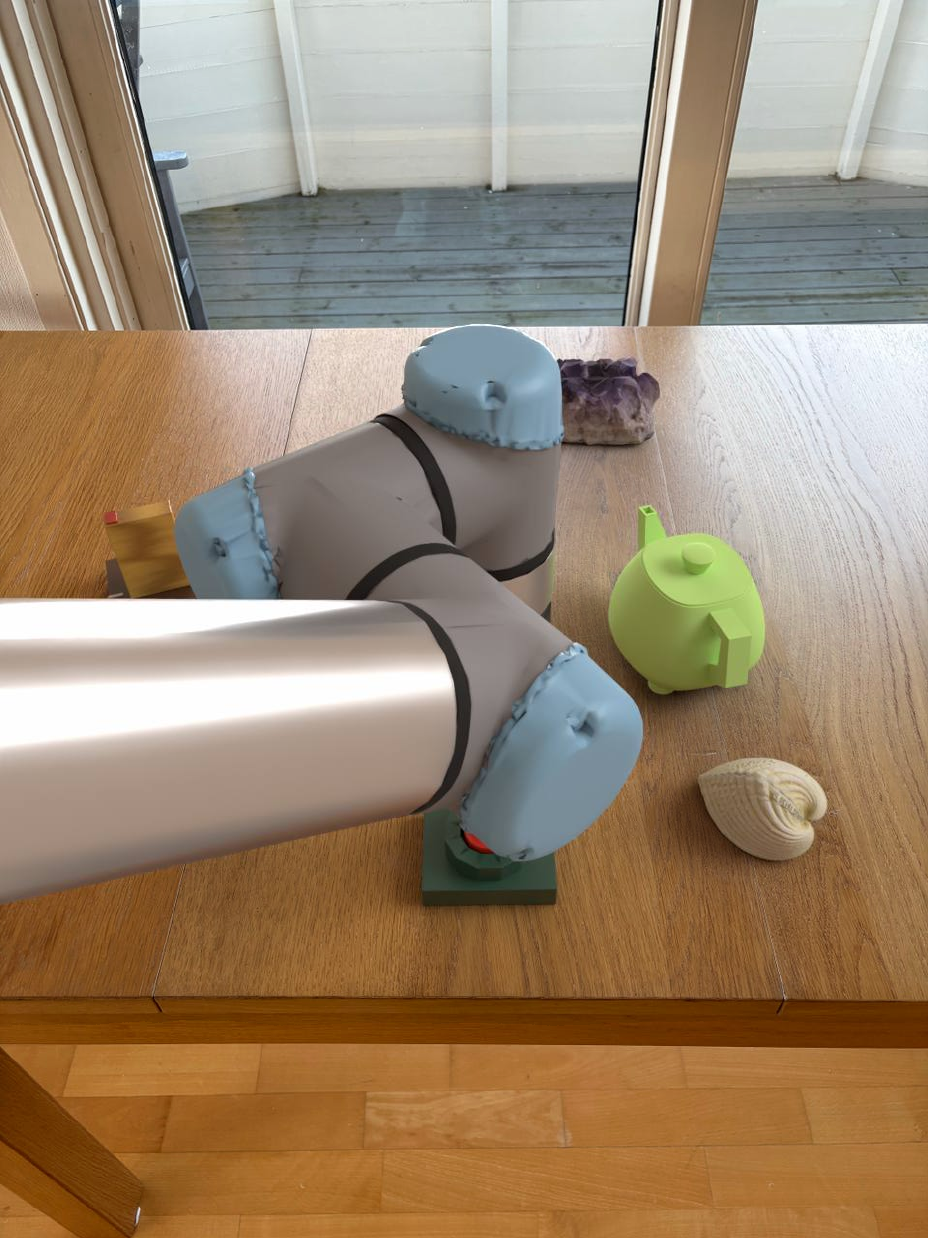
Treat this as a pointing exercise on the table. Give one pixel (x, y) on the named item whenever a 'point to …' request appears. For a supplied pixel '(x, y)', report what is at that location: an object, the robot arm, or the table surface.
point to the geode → (607, 401)
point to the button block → (478, 870)
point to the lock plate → (121, 592)
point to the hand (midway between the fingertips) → (489, 825)
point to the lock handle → (146, 548)
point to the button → (476, 844)
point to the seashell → (764, 806)
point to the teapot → (686, 611)
